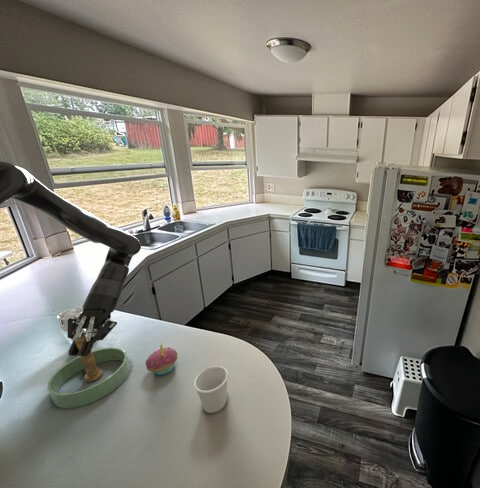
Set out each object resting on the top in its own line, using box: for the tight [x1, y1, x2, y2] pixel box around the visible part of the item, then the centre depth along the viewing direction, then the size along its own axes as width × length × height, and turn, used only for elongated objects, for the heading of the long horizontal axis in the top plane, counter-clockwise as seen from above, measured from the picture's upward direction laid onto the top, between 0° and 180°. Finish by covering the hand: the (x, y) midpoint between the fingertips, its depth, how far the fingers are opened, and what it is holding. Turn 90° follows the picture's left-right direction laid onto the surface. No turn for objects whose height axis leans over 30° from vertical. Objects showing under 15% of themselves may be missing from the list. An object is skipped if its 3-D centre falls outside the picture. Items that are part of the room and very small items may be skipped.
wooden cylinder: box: [75, 336, 103, 383], centre depth 73 cm, size 4×4×14 cm
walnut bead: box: [81, 368, 87, 377], centre depth 77 cm, size 2×2×2 cm
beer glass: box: [56, 306, 95, 347], centre depth 85 cm, size 7×7×15 cm
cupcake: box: [145, 343, 179, 376], centre depth 78 cm, size 9×8×12 cm
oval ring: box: [46, 347, 131, 409], centre depth 74 cm, size 17×17×6 cm
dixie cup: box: [193, 365, 229, 414], centre depth 68 cm, size 8×8×10 cm
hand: (77, 355), depth 70 cm, fingers closed on wooden cylinder, 2 cm apart
